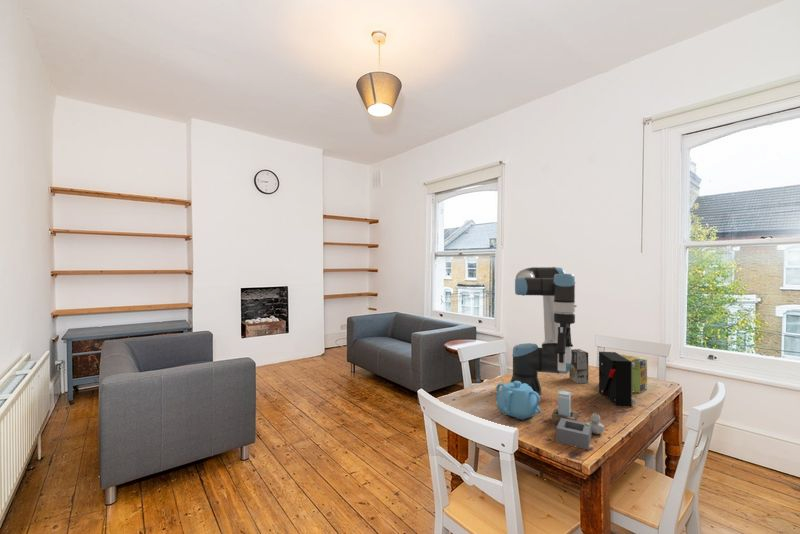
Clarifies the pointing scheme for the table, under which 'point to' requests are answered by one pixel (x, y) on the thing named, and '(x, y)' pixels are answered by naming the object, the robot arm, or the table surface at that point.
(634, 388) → the protein box
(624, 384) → the electrical component
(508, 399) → the decorative pot
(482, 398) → the table surface
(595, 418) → the rubber duck
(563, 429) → the port
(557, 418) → the holster
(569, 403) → the plug
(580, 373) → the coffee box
